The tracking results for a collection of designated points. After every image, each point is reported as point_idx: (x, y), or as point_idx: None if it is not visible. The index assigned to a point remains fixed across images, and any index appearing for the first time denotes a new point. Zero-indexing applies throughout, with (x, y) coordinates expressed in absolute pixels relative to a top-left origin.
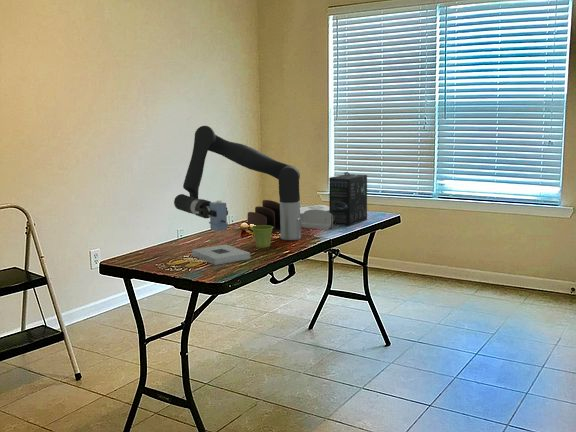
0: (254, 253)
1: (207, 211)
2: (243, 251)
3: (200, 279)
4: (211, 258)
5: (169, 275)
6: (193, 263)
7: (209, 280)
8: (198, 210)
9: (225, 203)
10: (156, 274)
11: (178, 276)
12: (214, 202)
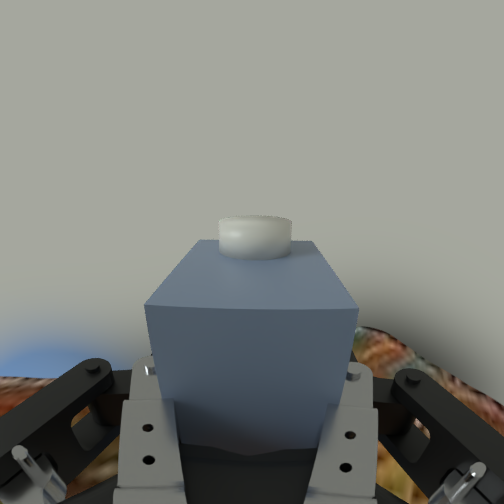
0: (105, 465)
1: (380, 389)
2: None
3: (397, 350)
4: None
5: (465, 388)
6: (401, 476)
7: (380, 341)
8: (492, 439)
9: (208, 241)
10: (495, 401)
11: (445, 378)
12: (273, 291)
